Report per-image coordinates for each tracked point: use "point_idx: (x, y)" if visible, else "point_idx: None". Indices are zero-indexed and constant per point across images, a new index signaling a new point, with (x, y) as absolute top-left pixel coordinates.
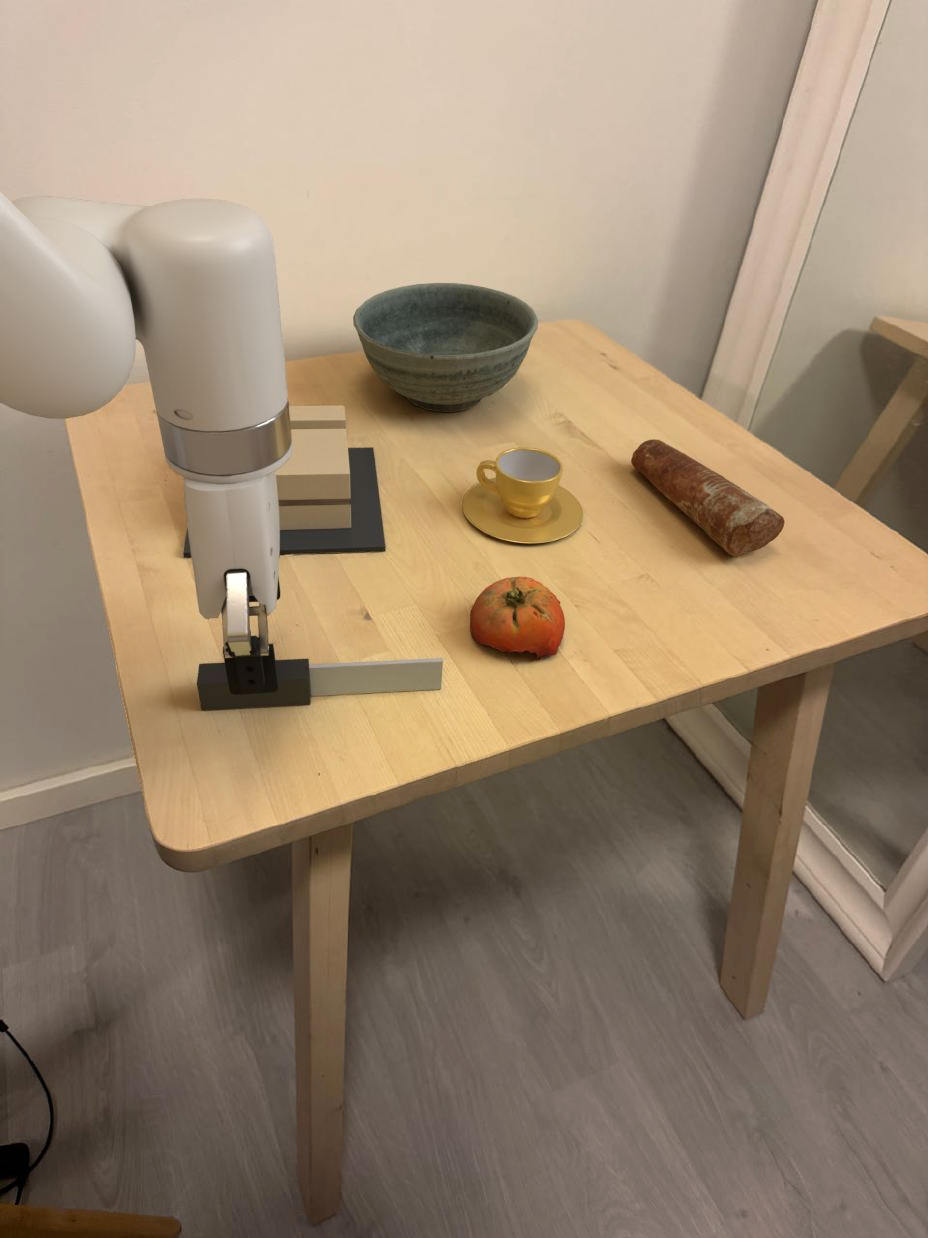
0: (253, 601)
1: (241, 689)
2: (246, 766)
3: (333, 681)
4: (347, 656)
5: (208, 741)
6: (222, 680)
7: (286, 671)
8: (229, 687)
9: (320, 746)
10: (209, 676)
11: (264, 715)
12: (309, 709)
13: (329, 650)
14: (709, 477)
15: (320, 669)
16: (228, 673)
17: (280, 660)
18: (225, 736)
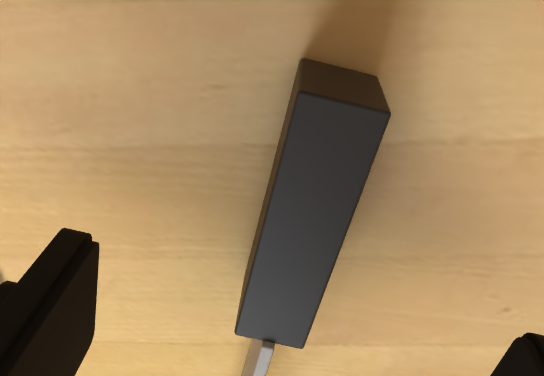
0: (498, 366)
1: (2, 284)
2: (94, 124)
3: (255, 346)
4: (360, 359)
5: (189, 55)
6: (289, 162)
7: (272, 303)
8: (51, 243)
9: (129, 262)
10: (319, 132)
11: (242, 190)
12: (234, 269)
13: (392, 339)
14: None
15: (256, 359)
16: (16, 292)
17: (316, 301)
18: (196, 98)
